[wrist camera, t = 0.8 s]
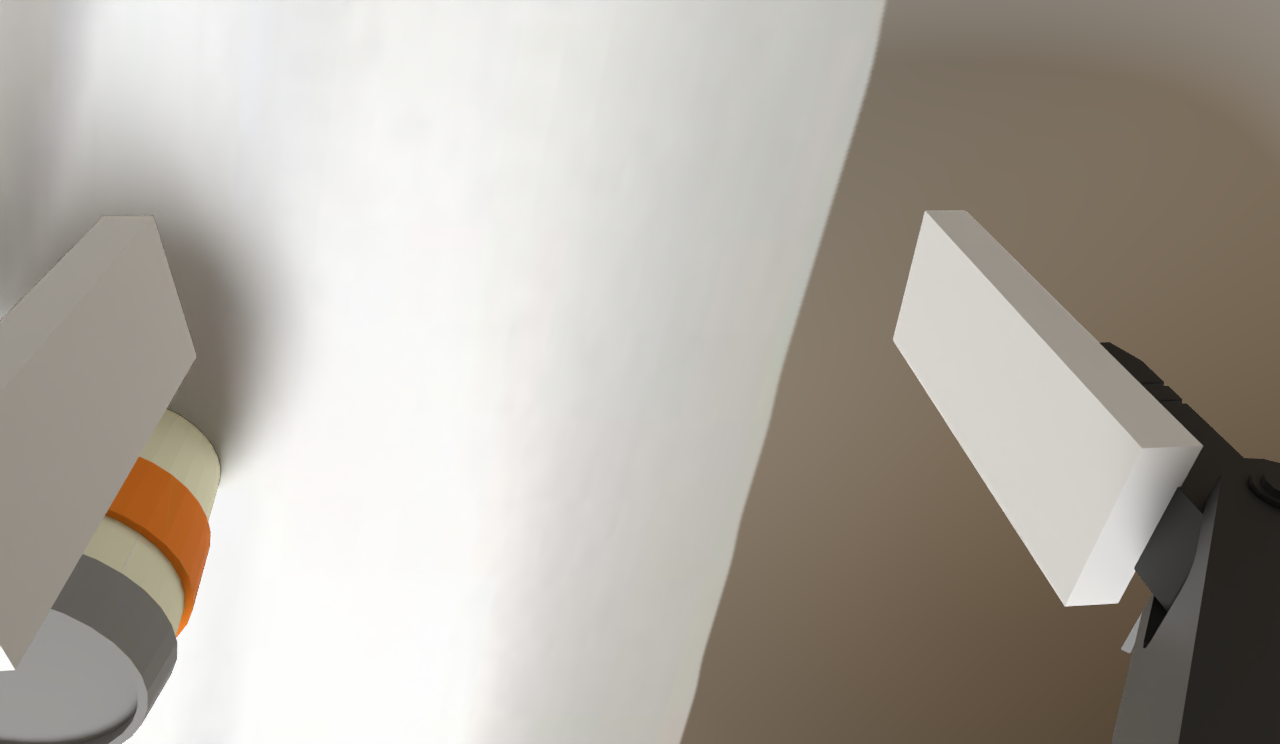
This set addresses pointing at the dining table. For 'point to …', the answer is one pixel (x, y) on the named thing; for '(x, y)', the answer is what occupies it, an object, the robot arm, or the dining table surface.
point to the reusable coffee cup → (120, 603)
